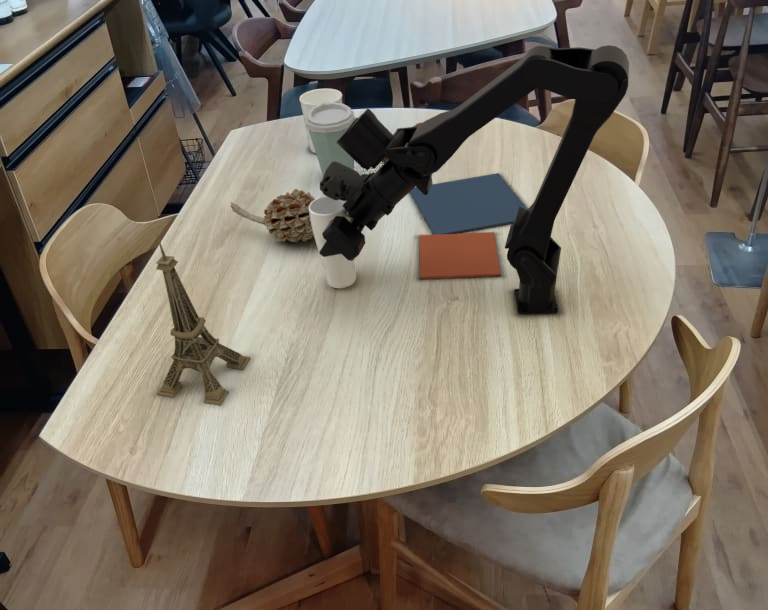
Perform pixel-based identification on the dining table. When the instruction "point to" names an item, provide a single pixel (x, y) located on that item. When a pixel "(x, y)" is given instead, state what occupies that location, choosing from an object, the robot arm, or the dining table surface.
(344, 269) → the tall white cup
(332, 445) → the dining table surface
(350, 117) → the disposable coffee cup
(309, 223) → the pine cone
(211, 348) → the eiffel tower
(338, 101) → the cream paper cup
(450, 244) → the terracotta mat
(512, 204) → the mat
